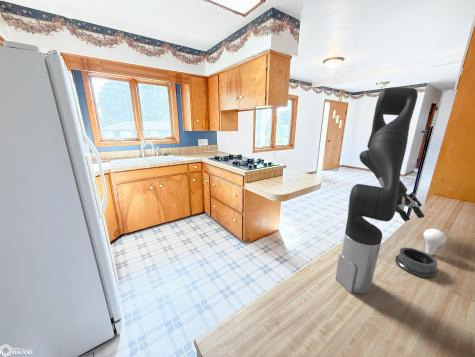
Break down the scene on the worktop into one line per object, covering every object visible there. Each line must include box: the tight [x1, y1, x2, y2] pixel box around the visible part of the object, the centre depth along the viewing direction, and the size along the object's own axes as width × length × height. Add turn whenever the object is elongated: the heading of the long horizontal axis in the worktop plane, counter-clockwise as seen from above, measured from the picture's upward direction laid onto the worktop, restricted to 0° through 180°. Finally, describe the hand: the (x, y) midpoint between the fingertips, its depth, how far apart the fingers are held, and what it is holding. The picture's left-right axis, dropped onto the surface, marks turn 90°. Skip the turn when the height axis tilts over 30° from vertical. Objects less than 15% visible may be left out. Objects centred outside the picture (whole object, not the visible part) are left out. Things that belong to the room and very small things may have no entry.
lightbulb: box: [422, 228, 447, 256], centre depth 73 cm, size 6×6×11 cm
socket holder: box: [394, 247, 438, 280], centre depth 67 cm, size 11×11×4 cm
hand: (414, 219), depth 78 cm, fingers open, 8 cm apart
